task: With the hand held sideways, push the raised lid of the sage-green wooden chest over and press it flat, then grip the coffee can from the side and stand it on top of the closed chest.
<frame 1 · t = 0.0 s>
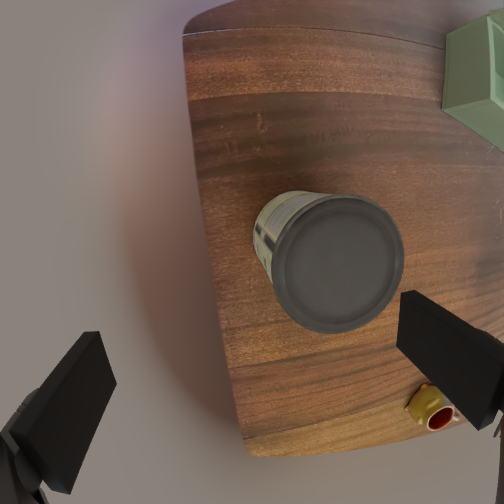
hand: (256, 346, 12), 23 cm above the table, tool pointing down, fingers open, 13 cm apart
chest: (480, 94, 33), on the table
mug: (429, 400, 44), on the table
coffee can: (297, 235, 35), on the table
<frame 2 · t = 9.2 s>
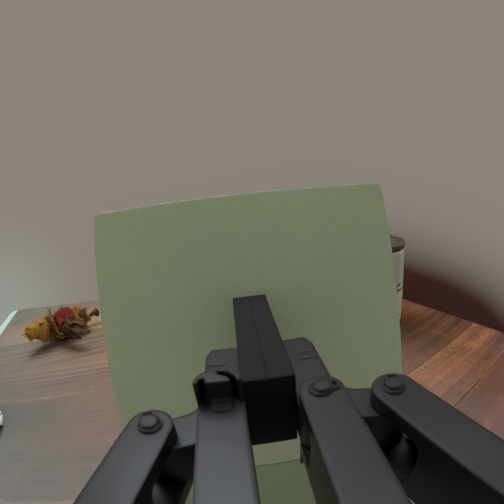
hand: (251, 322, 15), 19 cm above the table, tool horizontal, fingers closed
chest: (268, 470, 24), on the table
lid: (255, 339, 16), point 18 cm above the table, hinge at 71.5°, touching gripper
scarecrow: (64, 339, 54), on the table
coffee can: (374, 316, 53), on the table
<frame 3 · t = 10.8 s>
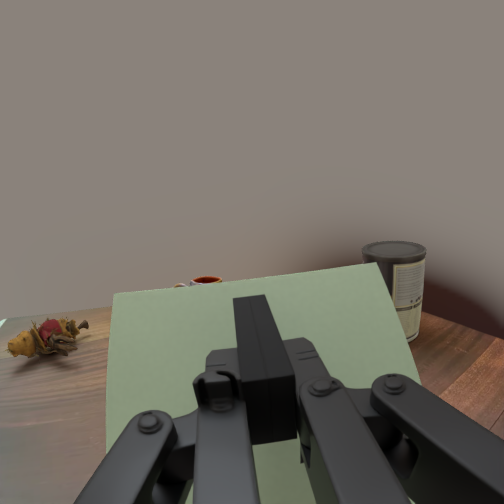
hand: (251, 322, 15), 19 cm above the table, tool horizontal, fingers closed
lid: (266, 412, 13), point 15 cm above the table, hinge at 38.1°, touching gripper
mug: (200, 308, 67), on the table
scarecrow: (51, 354, 48), on the table
coffee can: (390, 331, 47), on the table
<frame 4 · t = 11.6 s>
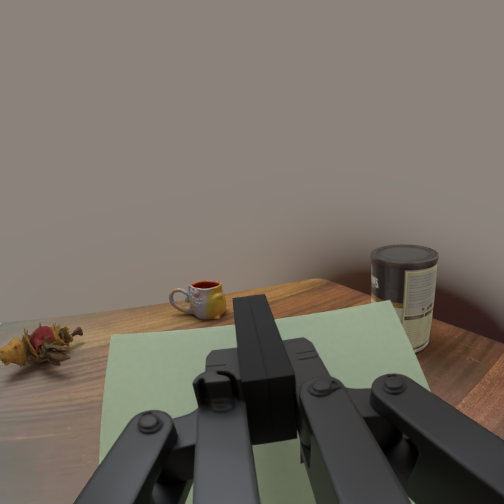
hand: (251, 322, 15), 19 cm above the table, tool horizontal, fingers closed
lid: (276, 462, 11), point 14 cm above the table, hinge at 29.7°, touching gripper
mug: (199, 314, 63), on the table
scarecrow: (44, 362, 45), on the table
coffee can: (399, 339, 44), on the table
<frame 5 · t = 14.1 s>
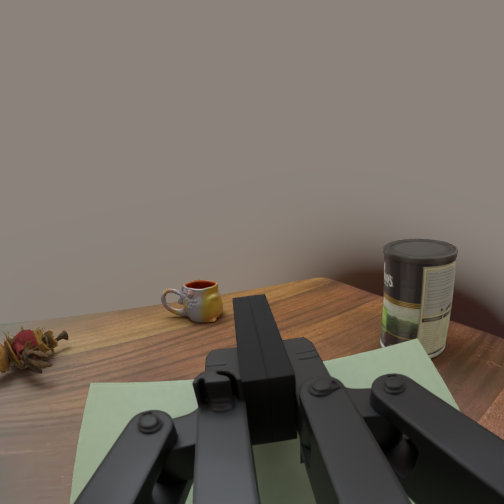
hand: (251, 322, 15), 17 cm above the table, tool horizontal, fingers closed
mug: (193, 317, 58), on the table
scarecrow: (27, 368, 39), on the table
coffee can: (413, 343, 39), on the table
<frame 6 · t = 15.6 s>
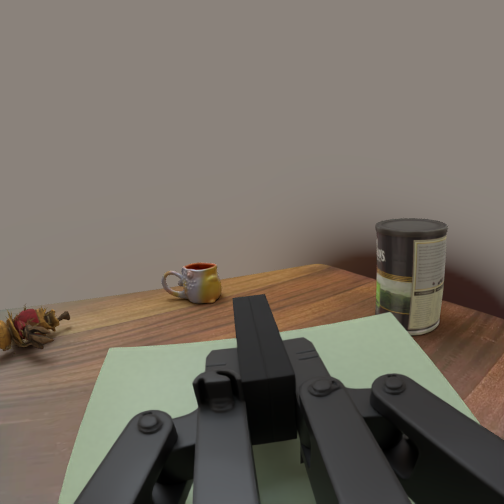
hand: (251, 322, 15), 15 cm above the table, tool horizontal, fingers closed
lid: (276, 462, 9), point 12 cm above the table, hinge at 9.0°, touching gripper
mug: (193, 299, 60), on the table
scarecrow: (28, 347, 41), on the table
coffee can: (407, 320, 41), on the table
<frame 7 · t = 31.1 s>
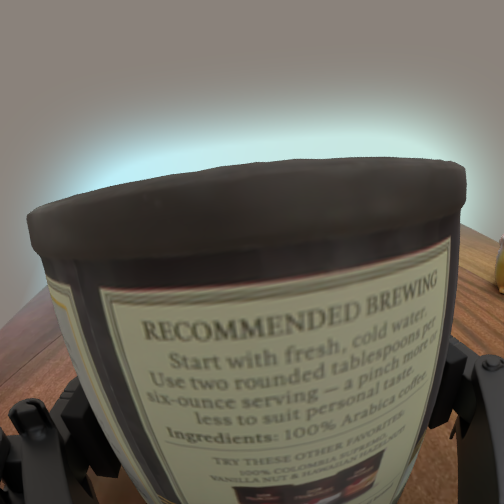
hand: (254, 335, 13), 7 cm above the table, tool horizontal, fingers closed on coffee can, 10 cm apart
when the fingers open (20 cm above the table, at t = 41.6 s): coffee can drops 1 cm, resting on lid.
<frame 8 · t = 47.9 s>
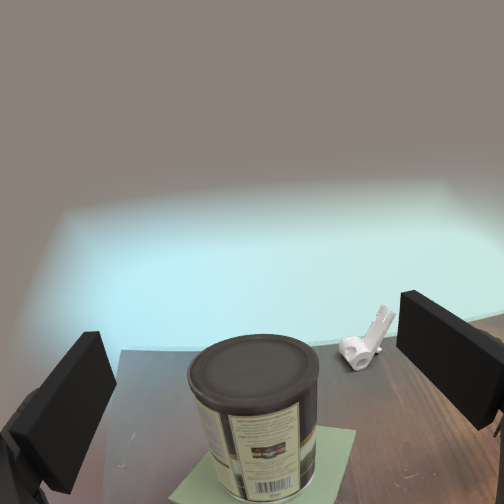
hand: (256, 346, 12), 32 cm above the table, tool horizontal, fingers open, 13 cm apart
plastic part: (364, 359, 62), on the table
lid: (270, 471, 26), point 10 cm above the table, hinge at -0.2°, touching chest, coffee can
coffee can: (265, 469, 26), point 11 cm above the table, touching lid
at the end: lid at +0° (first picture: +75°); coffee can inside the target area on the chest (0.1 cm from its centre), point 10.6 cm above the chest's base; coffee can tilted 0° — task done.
